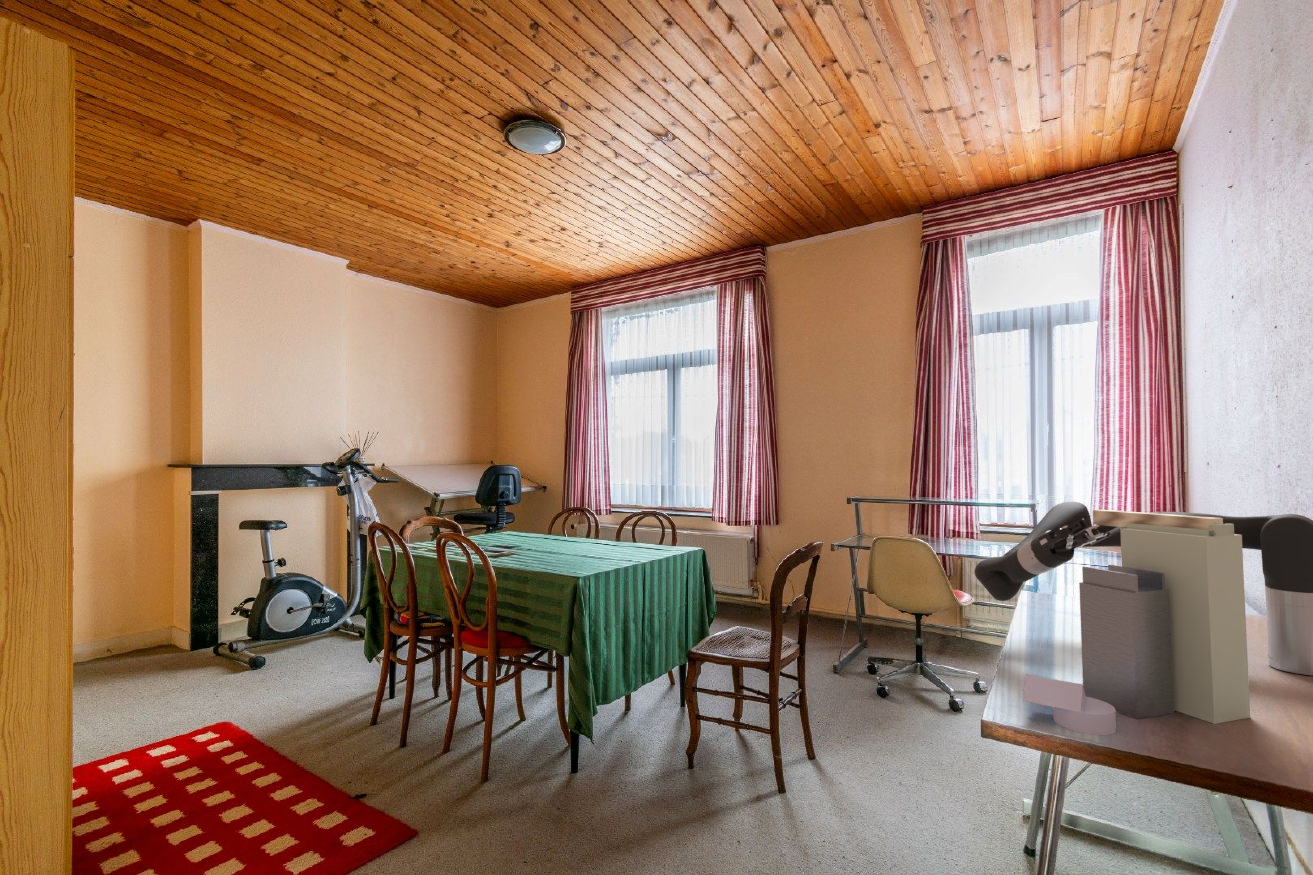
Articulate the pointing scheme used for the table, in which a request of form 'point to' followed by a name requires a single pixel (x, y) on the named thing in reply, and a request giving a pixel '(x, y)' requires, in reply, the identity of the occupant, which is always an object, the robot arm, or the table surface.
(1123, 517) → the rail
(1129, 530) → the pale green tall block
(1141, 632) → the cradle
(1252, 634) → the table surface
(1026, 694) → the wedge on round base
